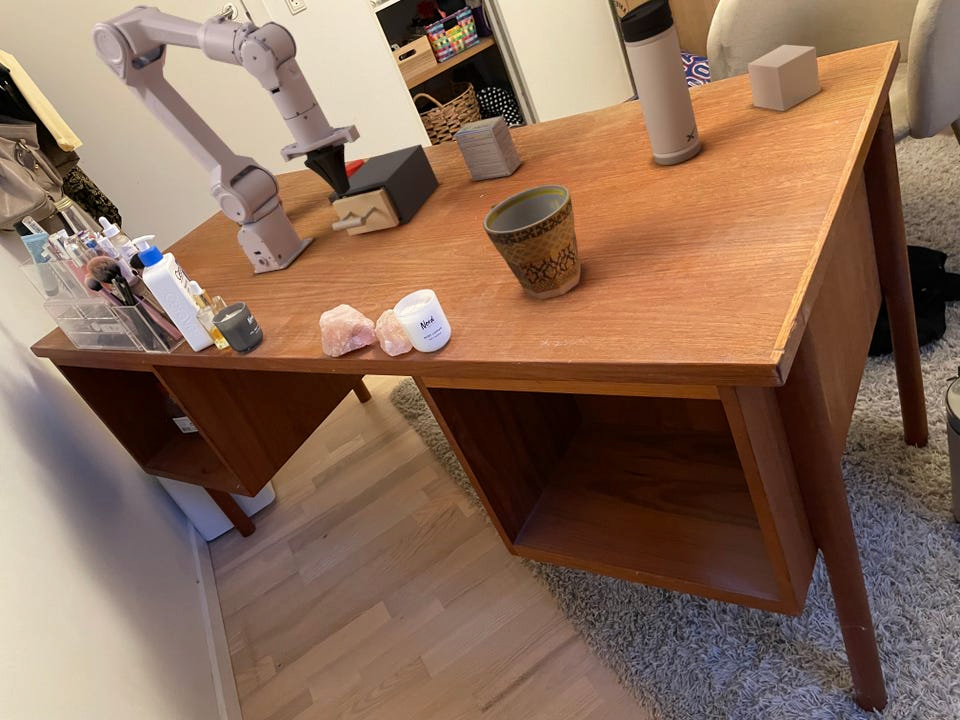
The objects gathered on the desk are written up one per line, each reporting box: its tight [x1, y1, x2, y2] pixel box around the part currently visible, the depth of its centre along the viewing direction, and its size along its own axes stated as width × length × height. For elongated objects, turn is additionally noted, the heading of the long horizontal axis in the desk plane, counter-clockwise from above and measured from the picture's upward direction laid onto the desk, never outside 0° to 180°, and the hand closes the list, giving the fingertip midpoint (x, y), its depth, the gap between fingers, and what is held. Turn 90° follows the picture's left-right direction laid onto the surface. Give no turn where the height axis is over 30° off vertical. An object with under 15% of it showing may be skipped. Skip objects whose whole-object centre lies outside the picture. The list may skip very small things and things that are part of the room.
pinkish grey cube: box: [747, 44, 821, 112], centre depth 93 cm, size 6×6×6 cm
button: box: [345, 159, 366, 177], centre depth 138 cm, size 4×4×2 cm
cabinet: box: [334, 143, 440, 226], centre depth 119 cm, size 13×11×8 cm
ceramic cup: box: [482, 184, 582, 300], centre depth 78 cm, size 13×10×10 cm
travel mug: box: [619, 0, 702, 166], centre depth 89 cm, size 6×7×20 cm
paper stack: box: [453, 115, 522, 182], centre depth 114 cm, size 8×4×9 cm, turn 58°
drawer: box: [331, 185, 400, 236], centre depth 116 cm, size 17×10×6 cm, turn 157°
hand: (344, 191), depth 110 cm, fingers closed
